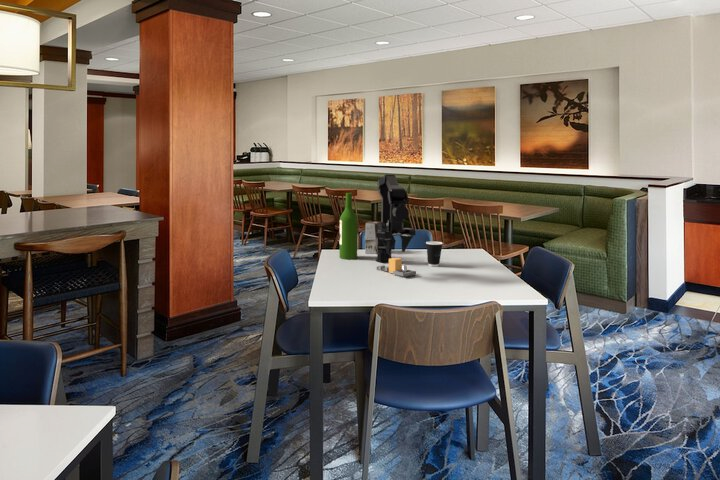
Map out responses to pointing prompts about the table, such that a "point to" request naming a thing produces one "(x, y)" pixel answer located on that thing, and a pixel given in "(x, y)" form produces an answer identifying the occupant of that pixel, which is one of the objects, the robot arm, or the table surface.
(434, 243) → the dixie cup
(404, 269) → the keeper
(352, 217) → the wine bottle
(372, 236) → the coffee box
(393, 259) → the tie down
